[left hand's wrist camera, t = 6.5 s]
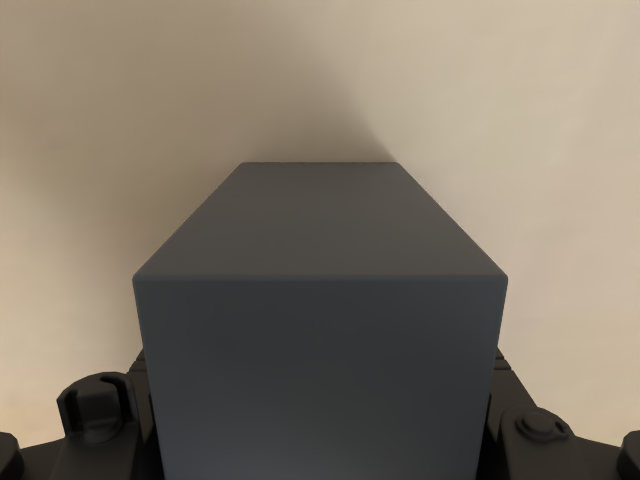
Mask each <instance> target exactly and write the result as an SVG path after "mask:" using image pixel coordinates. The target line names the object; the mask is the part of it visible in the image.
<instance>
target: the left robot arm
mask: <svg viewBox="0 0 640 480" xmlns="http://www.w3.org/2000/svg"><path fill="white" fill-rule="evenodd" d="M56 401H57V405H58V408H59V412H60V416H61V420H62V424H63V428H64V432H65V438H62V439H59V440H56V441H52V442H48V443H44V444H40V445H35V446H31V447H27V448H23V449H20V447H19V444H18V441H17V439H16V438H15V437H14V436H13V435H12V434H10V433H4V432H0V480H165V476H164V470H163V464H162V458H161V452H160V446H159V440H158V434H157V428H156V421H155V415H154V409H153V403H152V397H151V391H150V385H149V379H148V373H147V367H146V361H145V355H144V348H143V349H142V351H141V352H140V354H139V355H138V357H137V358H136V361H134V363H133V364H132V366H131V367H130V369H129V372H127V373H126V374H123V373H119V372H101V373H97V374H93V375H89V376H87V377H85V378H82V379H80V380H78V381H76V382H74V383H73V384H71V385H70V386H69V387H67V388H66V389H65V390H63V392H62V393H61V394H60V396H59V397H58V398H57V400H56ZM475 480H640V430H638V431H632V432H630V433H628V434H627V435H626V436H625V437H624V439H623V442H622V445H621V447H617V446H612V445H608V444H604V443H600V442H595V441H591V440H587V439H584V438H581V437H577V436H575V435H574V433H573V432H572V430H571V428H570V427H569V425H568V424H567V423H565V422H564V421H563V420H562V419H561V418H560V417H558V416H557V415H555V414H553V413H551V412H549V411H547V410H545V409H543V408H539V407H537V406H536V404H535V403H534V401H533V400H532V398H531V397H530V395H529V394H528V392H527V391H526V389H525V388H524V386H523V385H522V383H521V382H520V380H519V379H518V377H517V376H516V374H515V373H514V371H513V370H511V367H510V365H509V364H508V362H507V361H506V360H504V356H503V355H502V353H501V352H500V350H499V349H498V347H497V351H496V357H495V363H494V369H493V375H492V382H491V388H490V394H489V400H488V406H487V412H486V418H485V424H484V430H483V436H482V442H481V448H480V454H479V460H478V466H477V473H476V479H475Z"/></svg>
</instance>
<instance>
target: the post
mask: <svg viewBox="0 0 640 480" xmlns="http://www.w3.org/2000/svg"><path fill="white" fill-rule="evenodd" d="M132 282H133V288H134V294H135V300H136V306H137V312H138V318H139V324H140V330H141V336H142V342H143V348H144V355H145V361H146V367H147V373H148V379H149V385H150V391H151V397H152V403H153V409H154V415H155V421H156V428H157V434H158V440H159V446H160V452H161V458H162V464H163V470H164V476H165V480H475V479H476V473H477V466H478V460H479V454H480V448H481V442H482V436H483V430H484V424H485V418H486V412H487V406H488V400H489V394H490V388H491V382H492V375H493V369H494V363H495V357H496V351H497V345H498V339H499V333H500V327H501V321H502V315H503V309H504V303H505V297H506V291H507V284H508V277H507V275H506V274H505V273H504V272H503V271H502V270H501V269H500V268H499V267H498V266H497V265H496V264H495V263H494V262H493V260H492V259H491V258H490V257H489V256H488V255H487V254H486V253H485V252H484V251H483V250H482V249H481V248H480V247H479V246H478V245H477V244H476V243H475V242H474V241H473V240H472V239H471V238H470V237H469V236H468V235H467V234H466V232H465V231H464V230H463V229H462V228H461V227H460V226H459V225H458V224H457V223H456V222H455V221H454V220H453V219H452V218H451V217H450V216H449V215H448V214H447V213H446V212H445V211H444V210H443V209H442V208H441V207H440V206H439V204H438V203H437V202H436V201H435V200H434V199H433V198H432V197H431V196H430V195H429V194H428V193H427V192H426V191H425V190H424V189H423V188H422V187H421V186H420V185H419V184H418V183H417V182H416V181H415V180H414V179H413V177H412V176H411V175H410V174H409V173H408V172H407V171H406V170H405V169H404V168H403V167H402V166H401V165H400V164H399V163H241V164H240V165H239V166H238V167H237V168H236V169H235V170H234V171H233V173H232V174H231V175H230V176H229V177H228V178H227V179H226V180H225V181H224V182H223V183H222V184H221V185H220V186H219V187H218V188H217V189H216V190H215V191H214V192H213V193H212V194H211V195H210V196H209V197H208V199H207V200H206V201H205V202H204V203H203V204H202V205H201V206H200V207H199V208H198V209H197V210H196V211H195V212H194V213H193V214H192V215H191V216H190V217H189V218H188V219H187V220H186V221H185V222H184V224H183V225H182V226H181V227H180V228H179V229H178V230H177V231H176V232H175V233H174V234H173V235H172V236H171V237H170V238H169V239H168V240H167V241H166V242H165V243H164V244H163V245H162V246H161V247H160V248H159V250H158V251H157V252H156V253H155V254H154V255H153V256H152V257H151V258H150V259H149V260H148V261H147V262H146V263H145V264H144V265H143V266H142V267H141V268H140V269H139V270H138V271H137V272H136V273H135V274H134V276H133V279H132Z"/></svg>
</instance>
